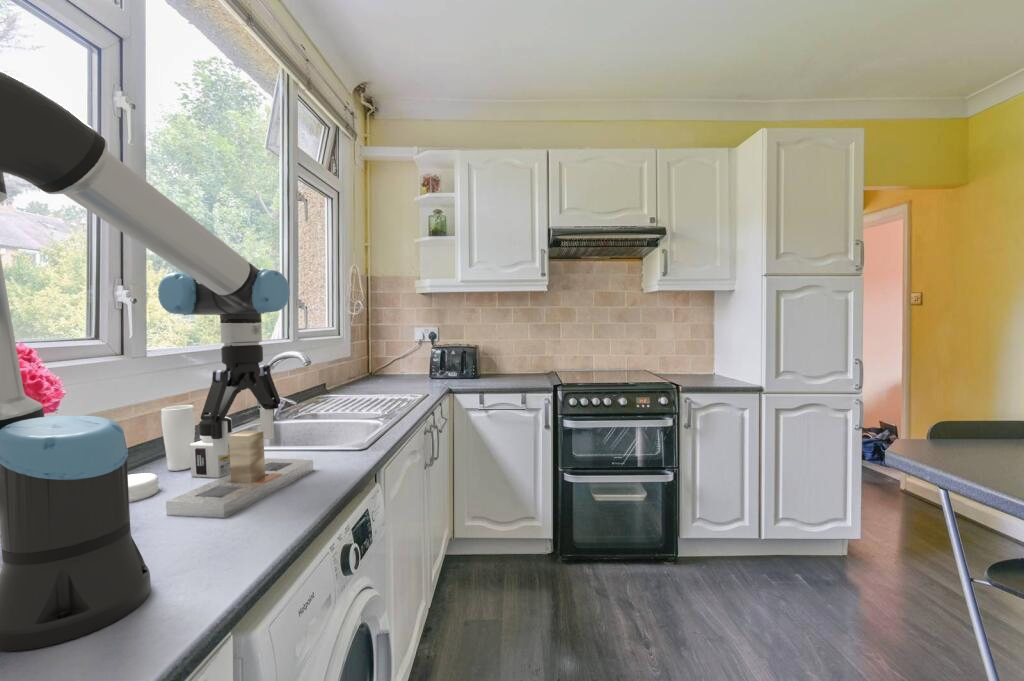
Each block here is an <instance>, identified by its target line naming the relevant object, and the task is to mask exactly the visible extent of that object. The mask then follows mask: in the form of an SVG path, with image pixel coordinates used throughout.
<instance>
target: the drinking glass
mask: <svg viewBox="0 0 1024 681" xmlns="http://www.w3.org/2000/svg"><path fill="white" fill-rule="evenodd" d="M160 411H161V412H160V417H161V418H160V422H161V429H162V436H163V443H164V450H165V457H166V462H167V466H166V467H167V470H169V471H170V472H179V471H185V470H188V469H191V460H190V444H191V443H195V434H196V413H195V405H193V404H180V405H171V406H167V407H163V408H161V410H160Z"/></svg>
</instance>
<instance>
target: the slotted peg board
mask: <svg viewBox="0 0 1024 681" xmlns="http://www.w3.org/2000/svg"><path fill="white" fill-rule="evenodd" d="M313 471H314V460H313V459H296V458H295V459H292V458H291V459H290V458H265V477H263V478H261V479H259V480H257V481H255V482H253V483H231V474H228V475H226V476H223V477H221V478H217V479H215V480H213V481H210V482H208V483H206V484H204V485H201V486H199V487H197V488H194V489H192V490H189V491H187V492H185V493H182V494H181V495H178V496H175V497H172V498H171V499H169V500H166V501H165V509H166V510H165V511H166V512H165V513H166V515H167V516H178V517H179V516H181V517H196V518H197V517H199V518H212V519H213V518H216V519H217V518H218V519H225V518H227V517H229V516H231V515H232V514H235V513H236V512H238V511H241V510H242V509H244V508H246V507H247V506H250V505H252V504H253V503H255V502H257V501H259V500H260V499H262V498H264V497H267V496H269V495H270V494H272V493H274V492H276V491H277V490H279V489H281V488H284V487H286V486H287V485H288V484H291V483H293V482H295V481H296V480H297V479H300V478H302V477H303V476H306V475H307V474H310V473H312V472H313Z"/></svg>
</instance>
